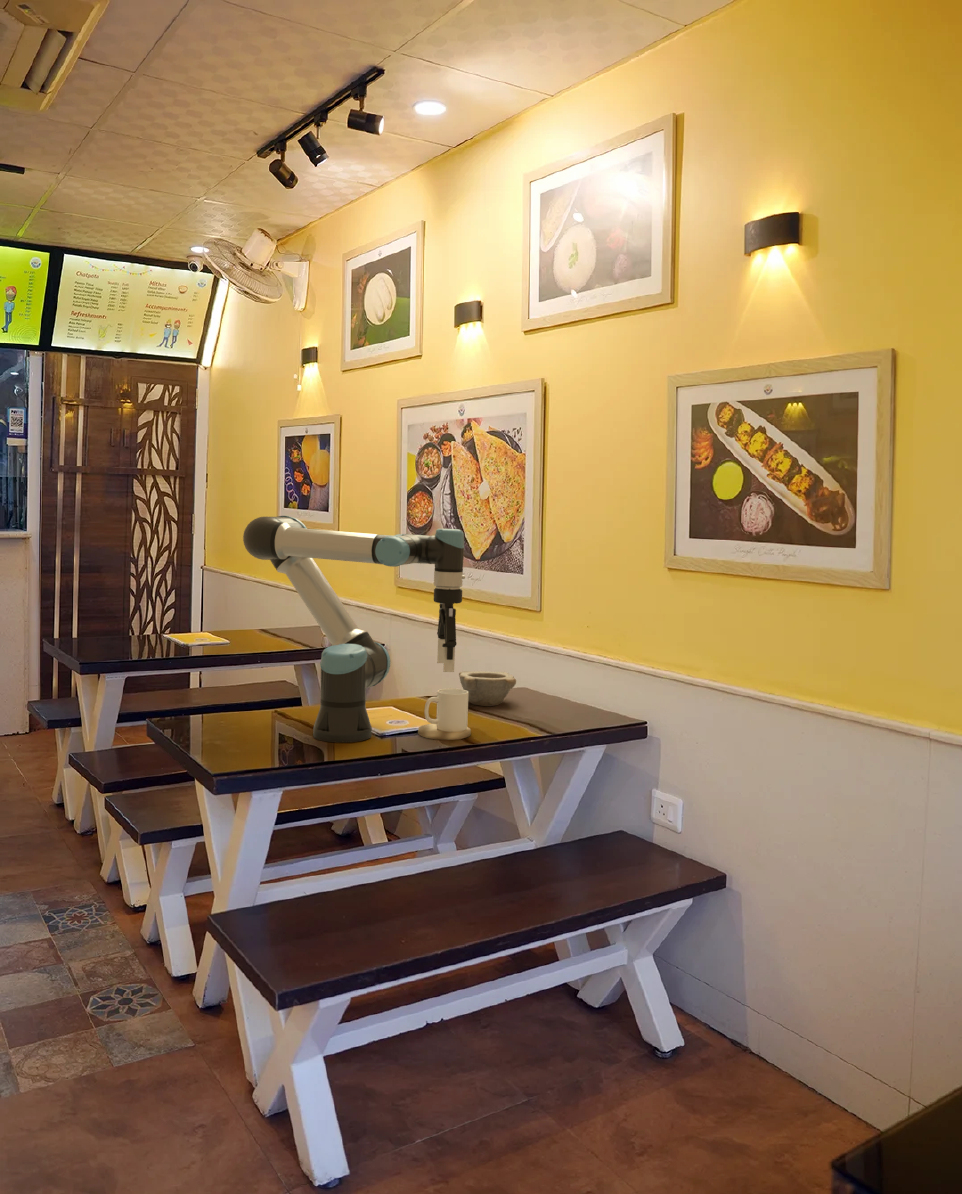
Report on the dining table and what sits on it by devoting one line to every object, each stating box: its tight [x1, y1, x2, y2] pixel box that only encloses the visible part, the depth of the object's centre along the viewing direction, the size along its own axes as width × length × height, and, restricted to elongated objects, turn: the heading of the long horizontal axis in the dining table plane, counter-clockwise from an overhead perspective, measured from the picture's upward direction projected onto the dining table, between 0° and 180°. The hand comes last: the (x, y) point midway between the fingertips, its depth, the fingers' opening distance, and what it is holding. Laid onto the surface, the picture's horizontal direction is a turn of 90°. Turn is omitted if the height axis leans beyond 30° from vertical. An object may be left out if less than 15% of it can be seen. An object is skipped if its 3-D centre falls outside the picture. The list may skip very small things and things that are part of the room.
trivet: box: [417, 723, 472, 741], centre depth 267 cm, size 14×14×1 cm
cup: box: [423, 688, 469, 732], centre depth 266 cm, size 8×12×10 cm
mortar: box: [458, 670, 517, 707], centre depth 309 cm, size 17×17×9 cm
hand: (445, 667), depth 265 cm, fingers open, 13 cm apart
